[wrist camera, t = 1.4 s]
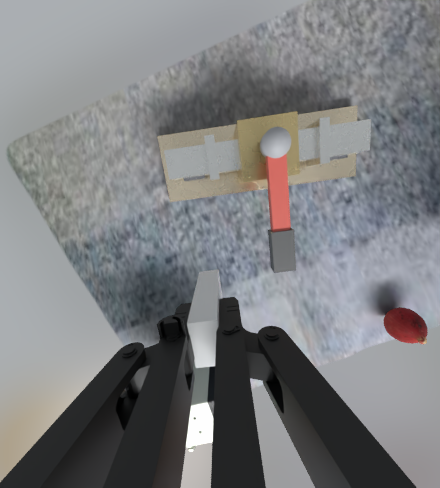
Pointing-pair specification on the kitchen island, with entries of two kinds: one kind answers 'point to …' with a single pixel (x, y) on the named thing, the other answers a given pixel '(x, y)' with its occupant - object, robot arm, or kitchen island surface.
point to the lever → (279, 199)
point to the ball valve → (201, 408)
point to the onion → (405, 325)
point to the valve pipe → (251, 159)
